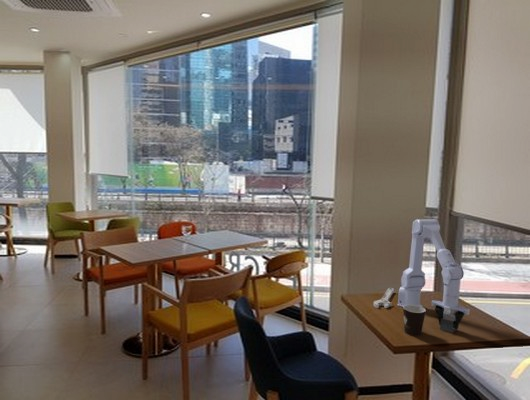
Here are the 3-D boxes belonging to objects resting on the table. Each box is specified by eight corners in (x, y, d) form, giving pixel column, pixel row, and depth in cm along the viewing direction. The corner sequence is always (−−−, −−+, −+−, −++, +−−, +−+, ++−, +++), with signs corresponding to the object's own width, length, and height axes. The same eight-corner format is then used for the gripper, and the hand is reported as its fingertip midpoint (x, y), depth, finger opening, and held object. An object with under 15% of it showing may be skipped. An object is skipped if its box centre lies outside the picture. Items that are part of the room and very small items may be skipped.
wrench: (399, 289, 219) (389, 306, 192) (399, 292, 219) (389, 310, 192) (383, 286, 222) (372, 303, 195) (383, 289, 222) (372, 307, 195)
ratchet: (434, 318, 184) (435, 308, 184) (451, 306, 200) (452, 296, 200) (451, 323, 179) (452, 312, 179) (467, 310, 195) (468, 300, 195)
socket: (440, 329, 172) (440, 318, 171) (444, 326, 176) (445, 314, 175) (452, 333, 169) (453, 321, 168) (456, 329, 172) (457, 318, 172)
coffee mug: (424, 338, 163) (425, 314, 162) (401, 334, 166) (402, 310, 165) (424, 327, 174) (425, 304, 173) (402, 324, 177) (403, 301, 176)
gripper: (429, 292, 172) (427, 324, 174) (466, 301, 163) (464, 334, 164) (435, 288, 178) (433, 319, 179) (472, 297, 168) (469, 329, 169)
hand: (448, 326), depth 172 cm, fingers open, 6 cm apart
